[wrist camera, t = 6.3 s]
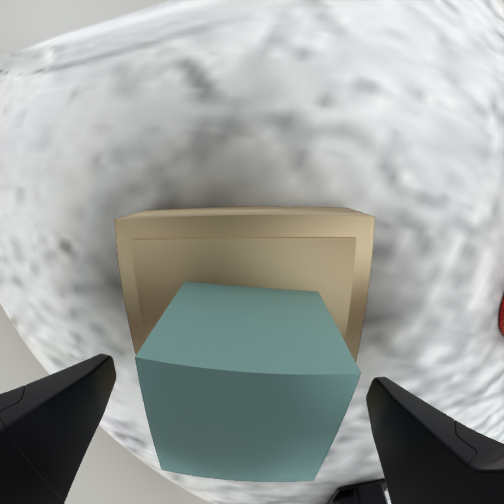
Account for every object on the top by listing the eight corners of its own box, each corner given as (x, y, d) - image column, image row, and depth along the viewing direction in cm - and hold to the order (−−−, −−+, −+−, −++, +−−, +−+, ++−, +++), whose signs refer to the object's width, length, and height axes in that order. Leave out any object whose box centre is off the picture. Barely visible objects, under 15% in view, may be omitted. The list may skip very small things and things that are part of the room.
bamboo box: (328, 370, 16) (343, 416, 12) (170, 369, 16) (150, 413, 12) (343, 206, 14) (376, 217, 10) (149, 209, 14) (112, 220, 10)
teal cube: (298, 391, 12) (313, 480, 7) (188, 382, 12) (161, 469, 7) (318, 291, 10) (360, 373, 6) (185, 281, 10) (134, 357, 5)
